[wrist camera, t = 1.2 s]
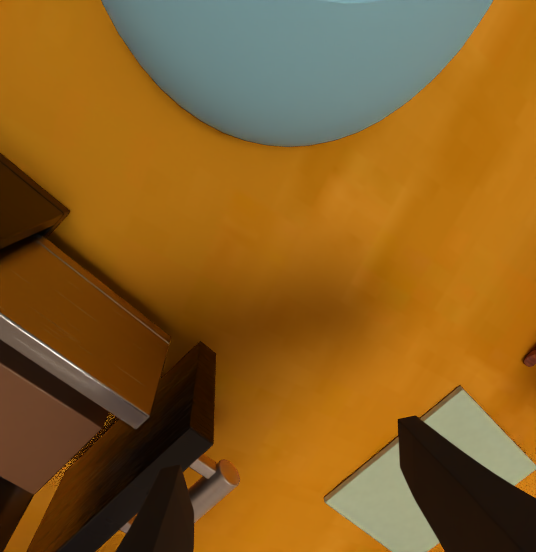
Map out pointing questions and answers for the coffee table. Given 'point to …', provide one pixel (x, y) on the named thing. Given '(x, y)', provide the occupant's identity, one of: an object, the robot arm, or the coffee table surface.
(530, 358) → the cat figurine
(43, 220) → the cabinet
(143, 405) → the drawer
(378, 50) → the sugar bowl
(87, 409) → the brown block
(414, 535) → the mat
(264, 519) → the coffee table surface
